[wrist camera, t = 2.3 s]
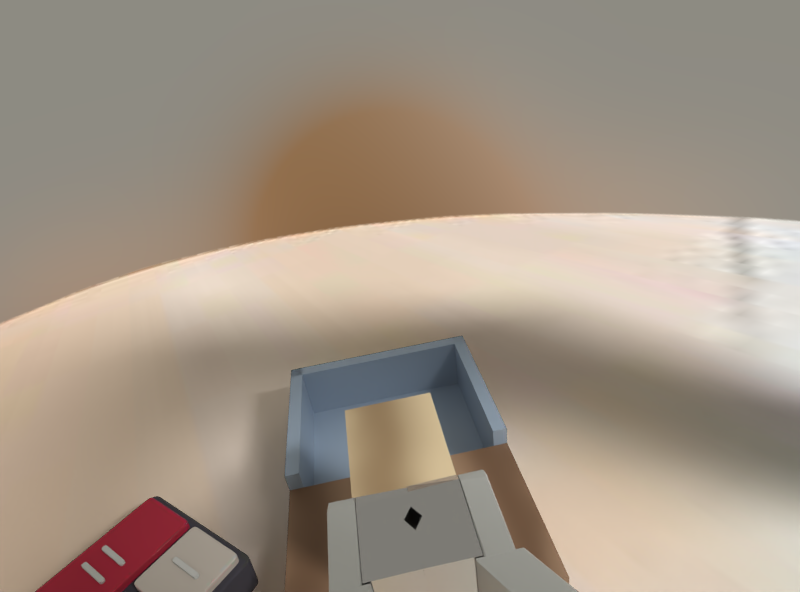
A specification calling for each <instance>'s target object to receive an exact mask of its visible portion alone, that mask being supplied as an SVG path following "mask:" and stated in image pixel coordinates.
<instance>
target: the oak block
mask: <svg viewBox="0 0 800 592" xmlns="http://www.w3.org/2000/svg"><path fill="white" fill-rule="evenodd" d="M345 419H346V431H347V444H348V456H349V469H350V481H351V493H352V498H356V497H360V496H366V495H371V494H376V493H381V492H386V491H392V490H397V489H402V488H407V486H410V485H415V484H419V483H423V482H427V481H431V480H436V479H440V478H444V477H448V476H453V475H456V473H455V470H454V466H453V463H452V460H451V457H450V454H449V451H448V447H447V444H446V441H445V438H444V435H443V432H442V428H441V425H440V422H439V419H438V416H437V413H436V410H435V406H434V403H433V400H432V397H431V394H430V393H425V394H421V395H416V396H411V397H406V398H401V399H397V400H392V401H387V402H382V403H378V404H373V405H368V406H363V407H358V408H354V409H349V410H345Z"/></svg>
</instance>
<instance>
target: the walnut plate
mask: <svg viewBox="0 0 800 592" xmlns="http://www.w3.org/2000/svg"><path fill="white" fill-rule="evenodd" d="M450 457H451V460H452V463H453V466H454V470H455V473H456V475H457V476H458V475H460V474H465V473H469V472H473V471H478V470H484V472H485V473H486V474H487V476H488V479H489V481H490V484H491V487H492V489H493V492H494V494H495V497H496V499H497V502H498V505H499V507H500V510H501V512H502V515H503V517H504V520H505V523H506V525H507V528H508V530H509V533H510V535H511V538H512V541H513V543H514V546H515V548H516V549H519V548H525V549H526V550H528V551H529V552H530V553H531V554H533V555H534V556H535V557H536V558H537V559H539V560H540V561H541V562H542V563H544V564H545V565H546V566H547V567H549V568H550V569H551V570H552V571H553V572H555V573H556V574H557V575H558V576H560V577H561V578H562V579H563V580H565V581H566V582H567V583H568V584H569V576H568V574H567V572H566V570H565V567H564V565H563V563H562V561H561V559H560V557H559V554H558V552H557V550H556V548H555V546H554V544H553V541H552V539H551V537H550V535H549V533H548V531H547V528H546V526H545V524H544V522H543V520H542V518H541V515H540V513H539V511H538V509H537V507H536V505H535V502H534V500H533V498H532V496H531V494H530V492H529V489H528V487H527V485H526V483H525V481H524V479H523V477H522V474H521V472H520V470H519V468H518V466H517V464H516V461H515V459H514V457H513V455H512V453H511V451H510V448H509V446H508V444H507V443H504V444H500V445H495V446H491V447H486V448H482V449H477V450H472V451H468V452H463V453H459V454H454V455H450ZM350 498H352V493H351V481H350V477H349V478H344V479H340V480H335V481H331V482H326V483H322V484H317V485H312V486H308V487H303V488H299V489H294V490H290V499H289V519H288V538H287V558H286V577H285V592H329V573H328V533H327V509H328V504H329V503H332V502H336V501H341V500H346V499H350Z"/></svg>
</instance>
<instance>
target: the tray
mask: <svg viewBox="0 0 800 592" xmlns="http://www.w3.org/2000/svg"><path fill="white" fill-rule="evenodd" d="M425 393H430V394H431V397H432V400H433V403H434V406H435V410H436V413H437V416H438V419H439V422H440V425H441V428H442V432H443V435H444V438H445V441H446V444H447V447H448V451H449V454H450V455H454V454H459V453H463V452H468V451H472V450H477V449H482V448H486V447H491V446H495V445H500V444H504V443H507V428H506V426H505V424H504V422H503V420H502V418H501V416H500V414H499V411H498V409H497V407H496V405H495V403H494V401H493V399H492V397H491V395H490V393H489V391H488V388H487V386H486V384H485V382H484V380H483V378H482V376H481V374H480V372H479V370H478V368H477V365H476V363H475V361H474V359H473V357H472V355H471V353H470V351H469V349H468V347H467V345H466V342H465V340H464V338H463V336H458V337H453V338H448V339H443V340H438V341H433V342H428V343H423V344H418V345H413V346H409V347H404V348H399V349H394V350H389V351H384V352H379V353H374V354H369V355H364V356H359V357H354V358H349V359H344V360H339V361H334V362H329V363H324V364H319V365H314V366H309V367H304V368H299V369H295V370H291V385H290V401H289V416H288V432H287V447H286V463H285V479H286V481H287V484H288V487H289V489H290V490H294V489H299V488H303V487H308V486H312V485H317V484H322V483H326V482H331V481H335V480H340V479H344V478H349V477H350V469H349V456H348V444H347V431H346V419H345V410H349V409H354V408H358V407H363V406H368V405H373V404H378V403H382V402H387V401H392V400H397V399H401V398H406V397H411V396H416V395H421V394H425Z"/></svg>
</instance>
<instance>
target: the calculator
mask: <svg viewBox="0 0 800 592" xmlns="http://www.w3.org/2000/svg"><path fill="white" fill-rule="evenodd" d="M257 583H258V579H257V576H256V574H255V571H254V569H253V566H252V564H251V561H250V559H249V557H248V556H247V555H246V554H245V553H243V552H242V551H240V550H239V549H237V548H236V547H234V546H233V545H231V544H230V543H228V542H227V541H225V540H224V539H222V538H221V537H219V536H218V535H216V534H215V533H213V532H212V531H210V530H209V529H207V528H206V527H204V526H203V525H201V524H200V523H198V522H197V521H195V520H194V519H192V518H191V517H189V516H188V515H186V514H185V513H183V512H182V511H180V510H178V509H177V508H175V507H174V506H172V505H171V504H169V503H168V502H166V501H165V500H163V499H162V498H160V497H158V496H156V497H153V498H149V499H148V500H147V501H145V502H144V503H143V504H142V505H140V506H139V507H138V508H137V509H135V510H134V511H133V512H132V513H131V514H129V515H128V516H127V517H126V518H124V519H123V520H122V521H121V522H120V523H118V524H117V525H116V526H115V527H113V528H112V529H111V530H110V531H109V532H107V533H106V534H105V535H104V536H102V537H101V538H100V539H99V540H98V541H96V542H95V543H94V544H93V545H91V546H90V547H89V548H88V549H87V550H85V551H84V552H83V553H82V554H80V555H79V556H78V557H77V558H76V559H74V560H73V561H72V562H71V563H70V564H68V565H67V566H66V567H65V568H63V569H62V570H61V571H60V572H59V573H57V574H56V575H55V576H54V577H52V578H51V579H50V580H49V581H48V582H46V583H45V584H44V585H43V586H41V587H40V588H39V589H38V590H37V591H35V592H252V591H253V590H254V588H255V587H256V585H257Z"/></svg>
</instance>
